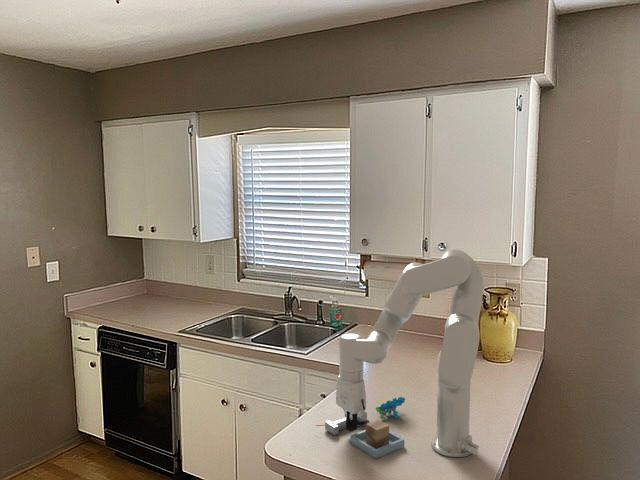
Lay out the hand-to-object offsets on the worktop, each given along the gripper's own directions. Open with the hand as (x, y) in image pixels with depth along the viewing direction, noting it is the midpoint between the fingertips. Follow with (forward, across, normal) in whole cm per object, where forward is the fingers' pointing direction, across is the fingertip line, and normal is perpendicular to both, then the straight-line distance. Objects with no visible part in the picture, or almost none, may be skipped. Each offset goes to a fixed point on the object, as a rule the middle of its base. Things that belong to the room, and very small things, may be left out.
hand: (351, 429), depth 166 cm
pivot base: (+2, -8, +3) cm, 8 cm away
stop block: (+2, +9, +3) cm, 10 cm away
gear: (+3, -3, +20) cm, 20 cm away
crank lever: (+2, -5, +3) cm, 6 cm away
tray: (+2, +9, +2) cm, 10 cm away
